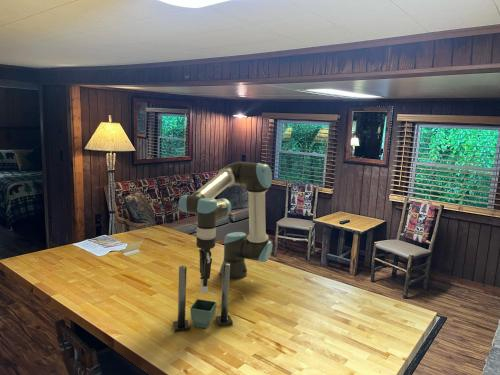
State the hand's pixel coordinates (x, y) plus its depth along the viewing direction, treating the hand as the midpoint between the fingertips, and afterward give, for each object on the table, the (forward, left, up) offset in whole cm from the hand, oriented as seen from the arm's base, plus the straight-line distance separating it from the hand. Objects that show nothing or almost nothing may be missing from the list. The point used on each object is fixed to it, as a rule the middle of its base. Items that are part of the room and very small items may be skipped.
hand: (204, 292), depth 159 cm
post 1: (+9, 0, -14) cm, 17 cm away
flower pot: (0, 0, -15) cm, 15 cm away
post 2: (-9, 0, -14) cm, 17 cm away
